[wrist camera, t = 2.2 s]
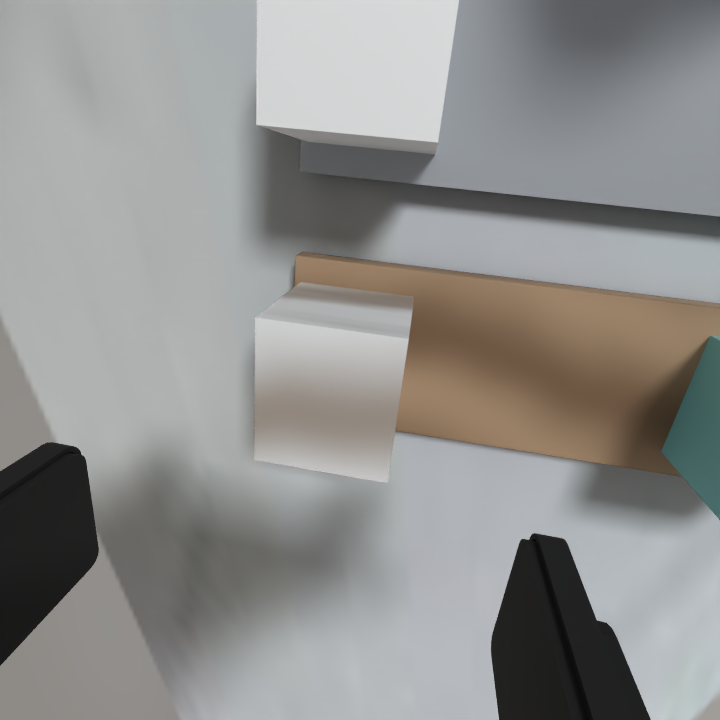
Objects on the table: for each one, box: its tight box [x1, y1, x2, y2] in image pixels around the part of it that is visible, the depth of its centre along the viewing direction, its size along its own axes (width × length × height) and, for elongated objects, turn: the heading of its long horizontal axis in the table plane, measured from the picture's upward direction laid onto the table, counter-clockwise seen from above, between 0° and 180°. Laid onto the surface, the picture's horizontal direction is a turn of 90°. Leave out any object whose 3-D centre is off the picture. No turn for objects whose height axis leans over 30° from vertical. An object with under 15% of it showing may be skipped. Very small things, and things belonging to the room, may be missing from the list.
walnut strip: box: [254, 252, 720, 483], centre depth 15 cm, size 7×26×6 cm, turn 84°
